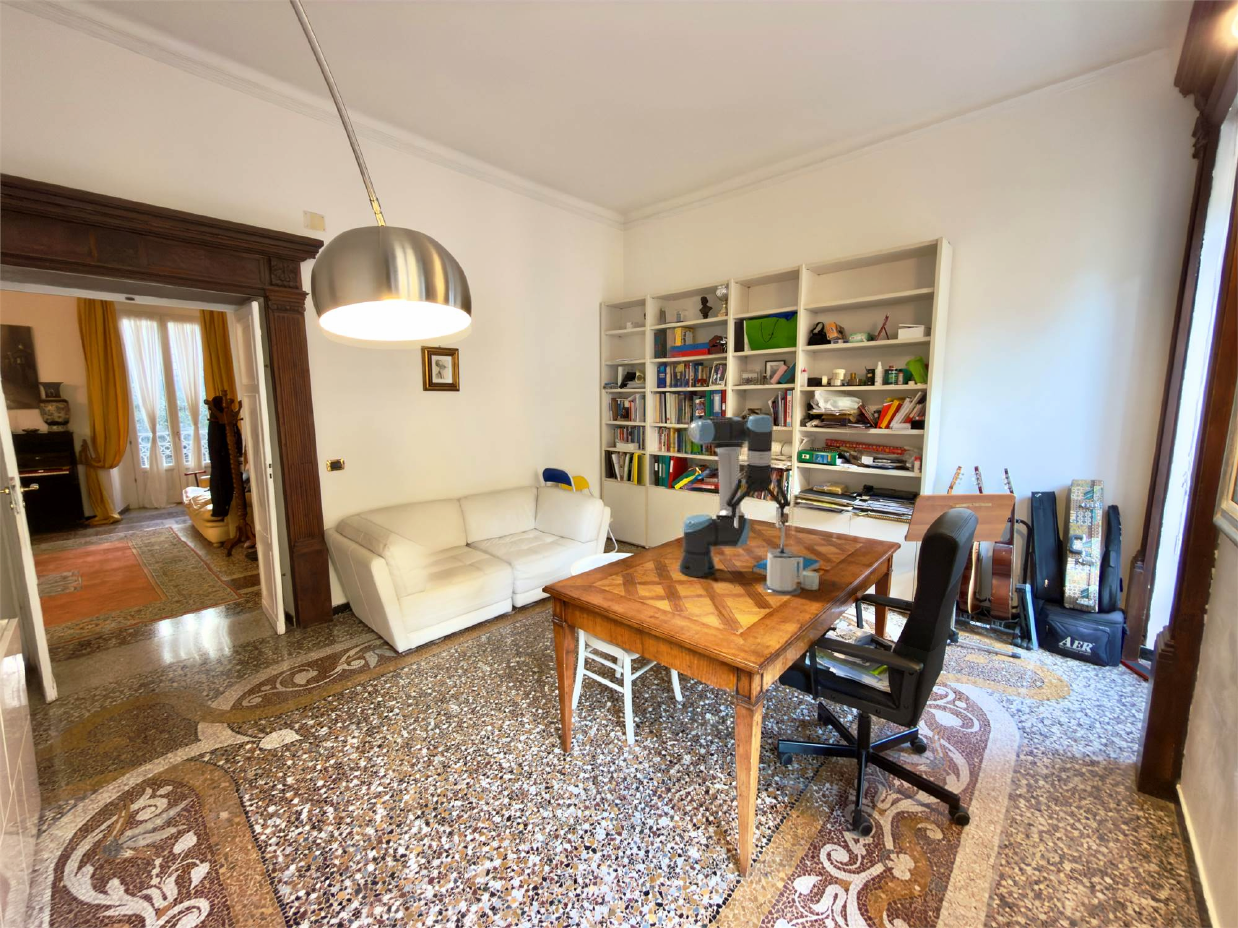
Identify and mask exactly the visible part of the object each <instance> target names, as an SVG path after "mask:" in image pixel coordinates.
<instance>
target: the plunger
mask: <svg viewBox="0 0 1238 928" xmlns="http://www.w3.org/2000/svg"><path fill="white" fill-rule="evenodd" d="M789 516H790V513H788V512H784V516H783V517H781V520H780V529H781V530H780V531H781V532H780V549H781V554H784V549H785V538H786V537H785V535H786V534H785V532H786V530H785V529H786V528H785V527H786V524H787V523H789V519H790V517H789Z"/></svg>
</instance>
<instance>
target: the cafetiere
mask: <svg viewBox="0 0 1238 928" xmlns="http://www.w3.org/2000/svg"><path fill="white" fill-rule="evenodd" d="M767 550H768V551H767V575H766V582H767V588H768V589H769V590H771V591H774V592H777V593H792V592H794V591H796V585H797V583H802V573H803V558H797V555H798V554H797V553H795V552H794V551H793V550H792V549H788V548H787V549H785V548H784V554H781V548H773V549H772V548H770V549H767ZM797 561H799V577H798V578H797Z"/></svg>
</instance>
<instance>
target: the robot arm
mask: <svg viewBox="0 0 1238 928" xmlns="http://www.w3.org/2000/svg"><path fill="white" fill-rule="evenodd" d="M773 429H774V423H773V417H772V416H771V415H764V414H756V415H750V416H749V417H748V418H745V419H742V418H741V417H738V416H735V417H733V416H725V417H724V416H722V417H721V416H719V417H718V416H717V417H702V418H698V419H695V420H693V421H691V422H690V423H689V425H688V426H687V429H686V433H687V436H688V438H689V440H690V441H691V442H693V443H695V444H697V445H702V446H714V447H713V450H714V451H715V452H716V453H717V455H718V457H717V459H718V461H717V464H718V494H719V495H718V496H719V499H718V500H719V503H718V505H719V510H718V512H717V513H716V514H715V518H713V517H712V515H710V514H695V515H691V516H688V517H686V518H685V519H684V521H683V528H682V532H683V553H682V556H681V560H680V561H679V565H678V567H679V568H678V569H679V572H680V573H681V574H683V575H685V576H687V577H692V578H705V577H710V576H713V575H715V573H716V571H717V569H716V568H717V567H716V563H715V559H714V557H713V554H712V550H713V549H712V548H726V547H727V548H729V547H730V548H732V547H733V548H736V547H737V548H738V547H744V546H745V545H746V544H747V543H748V541H749V536H750V532H751V530H750V529H751V527H750V520H749V519H748V518H747V517H745V513H744V512H743V511H742V509H741V508H742V505H741V503H742V502H743V501H744V500H745V499H746V497H747V496H748V495H749V494H751V493H764V492H767V494H768V495H769V496H770V497H771V498H772V499H773V500H774V502H775V503H776V504H777V506H776V507H775V527H776V528H777V529H781V523H780V520H781V517H783V516H784V513H785V509H786V507H790V505H791V502H790V501H789V498H788V496H787V494H786V493H785V490H784V489H783V486H782V480H781V478H779V477H778V476H777V477H775V478H772V465H771V463H772V449H773V448H772V447H773V444H772V443H773ZM746 444H747V456H746V457H747V458H746V462H747V465H746V477H745V478H741V477H740V476H741V475H740V474H741V473H740V472H741V471H740V452H741V451H742V450H743V446H744V445H746ZM744 484H746V487H745V488H744V490H743V491H742V492H741V487H742V486H743V485H744ZM772 484H773V485H775V486H776V489H777V491H778V494H779V495H780V498H781V499H782V501H783V502H782V501H781V500H780V499H779V498H778V496H777V495H776V494H775V493H774V492H773V490H772V489H771V488H770V486H771V485H772Z"/></svg>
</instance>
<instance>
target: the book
mask: <svg viewBox="0 0 1238 928" xmlns="http://www.w3.org/2000/svg"><path fill="white" fill-rule="evenodd" d="M796 555H797V558H803V571H814V570H817V569H820V562H821V560H819V559H815V558H811V557H807V556H804V555H803V556H802V555H798V554H796ZM751 572H754V573H757V574H760V575H764V576H767V559H764V560H762V561H760V562H757V563H755V564H753V565H752V568H751ZM798 577H799V561H797V578H798Z"/></svg>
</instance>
